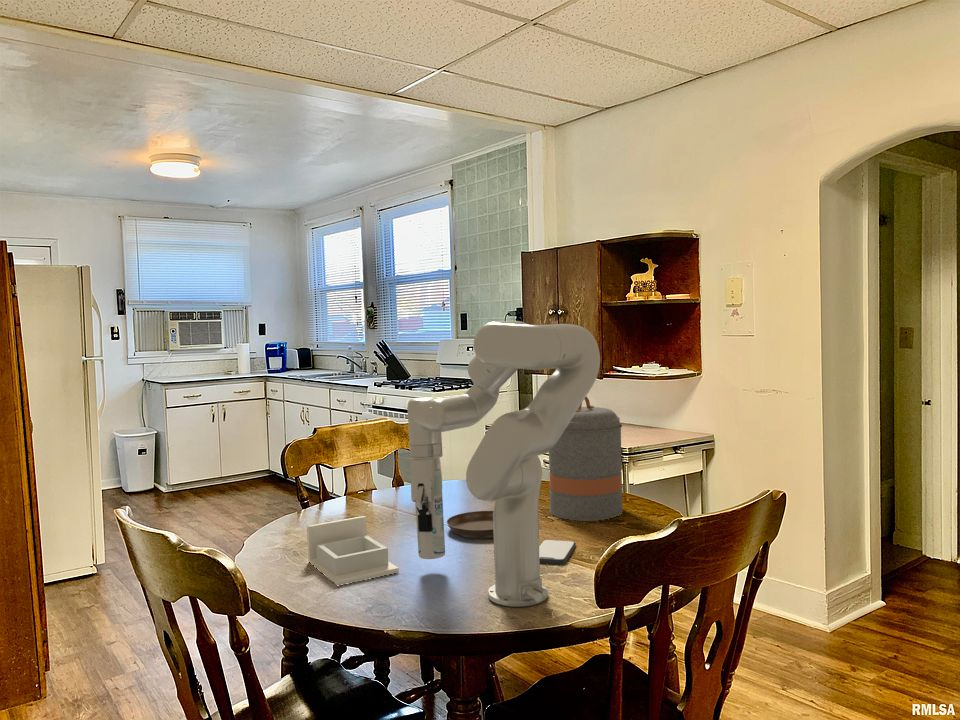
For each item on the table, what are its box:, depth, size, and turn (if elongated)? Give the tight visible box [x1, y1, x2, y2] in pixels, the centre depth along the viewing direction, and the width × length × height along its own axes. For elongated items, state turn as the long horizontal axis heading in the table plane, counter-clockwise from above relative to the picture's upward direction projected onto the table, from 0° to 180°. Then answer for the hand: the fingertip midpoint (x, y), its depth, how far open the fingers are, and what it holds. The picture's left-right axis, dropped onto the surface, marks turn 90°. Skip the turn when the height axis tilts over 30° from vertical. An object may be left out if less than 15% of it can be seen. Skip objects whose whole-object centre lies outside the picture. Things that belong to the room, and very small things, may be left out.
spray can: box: [415, 468, 446, 560], centre depth 170 cm, size 6×6×20 cm
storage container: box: [548, 395, 624, 522], centre depth 219 cm, size 22×22×35 cm
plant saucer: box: [446, 510, 494, 539], centre depth 203 cm, size 21×21×3 cm
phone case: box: [539, 539, 577, 566], centre depth 181 cm, size 9×2×16 cm
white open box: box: [306, 515, 400, 586], centre depth 174 cm, size 20×15×9 cm
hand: (430, 526), depth 170 cm, fingers closed on spray can, 6 cm apart
